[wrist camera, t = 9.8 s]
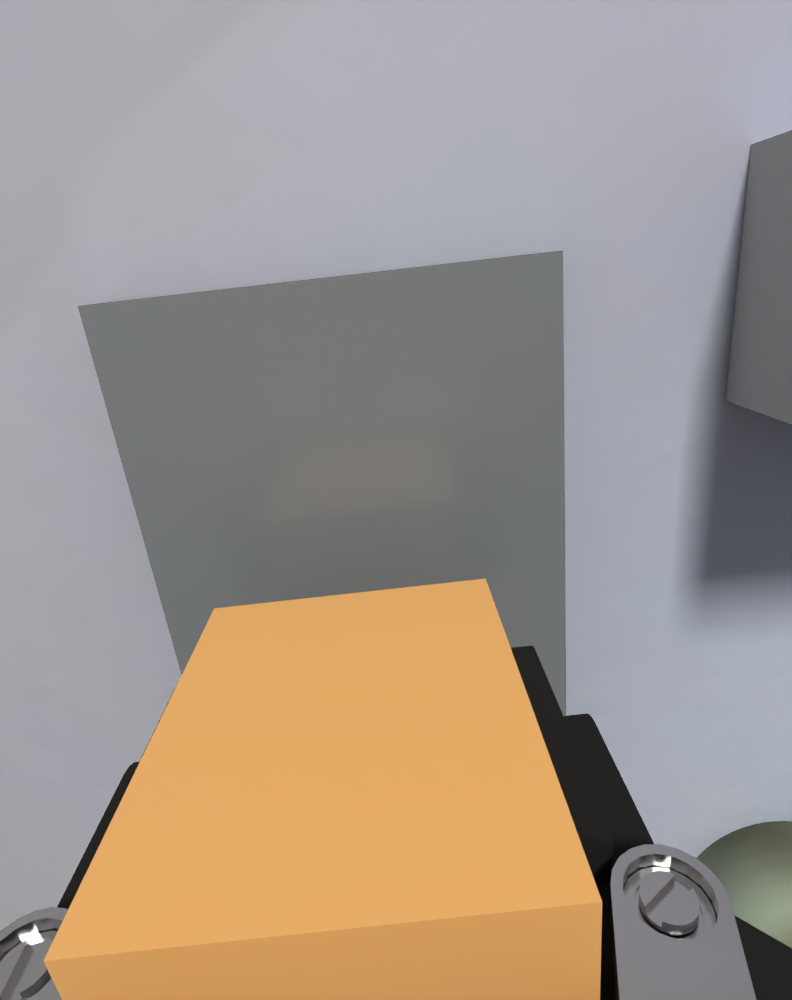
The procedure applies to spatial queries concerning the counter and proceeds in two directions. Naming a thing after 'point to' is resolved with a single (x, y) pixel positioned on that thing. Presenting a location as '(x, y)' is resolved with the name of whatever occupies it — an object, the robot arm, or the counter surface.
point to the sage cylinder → (757, 875)
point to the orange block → (341, 820)
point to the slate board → (348, 440)
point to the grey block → (765, 286)
